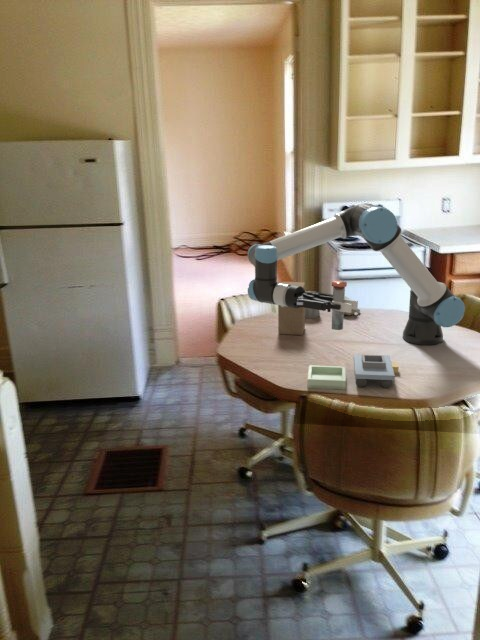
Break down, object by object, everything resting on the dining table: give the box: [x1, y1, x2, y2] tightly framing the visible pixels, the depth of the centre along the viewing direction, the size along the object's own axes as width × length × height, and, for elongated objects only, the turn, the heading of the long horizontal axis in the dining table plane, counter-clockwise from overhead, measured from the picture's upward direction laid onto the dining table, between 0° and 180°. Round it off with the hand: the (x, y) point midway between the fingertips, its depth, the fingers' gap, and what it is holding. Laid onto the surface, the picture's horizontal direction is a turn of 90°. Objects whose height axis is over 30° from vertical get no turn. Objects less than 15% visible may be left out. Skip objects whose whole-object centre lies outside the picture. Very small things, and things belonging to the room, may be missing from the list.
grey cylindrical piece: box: [305, 290, 320, 319], centre depth 258 cm, size 13×10×10 cm
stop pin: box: [331, 280, 348, 331], centre depth 179 cm, size 5×5×15 cm
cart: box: [353, 353, 399, 389], centre depth 186 cm, size 15×18×7 cm
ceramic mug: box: [344, 295, 361, 317], centre depth 258 cm, size 11×8×8 cm
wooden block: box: [277, 281, 306, 336], centre depth 234 cm, size 10×10×20 cm
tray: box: [307, 364, 347, 391], centre depth 186 cm, size 12×12×3 cm
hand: (353, 306), depth 176 cm, fingers closed on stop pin, 3 cm apart
